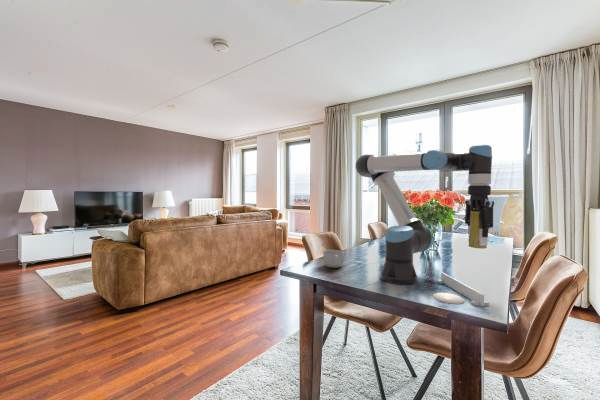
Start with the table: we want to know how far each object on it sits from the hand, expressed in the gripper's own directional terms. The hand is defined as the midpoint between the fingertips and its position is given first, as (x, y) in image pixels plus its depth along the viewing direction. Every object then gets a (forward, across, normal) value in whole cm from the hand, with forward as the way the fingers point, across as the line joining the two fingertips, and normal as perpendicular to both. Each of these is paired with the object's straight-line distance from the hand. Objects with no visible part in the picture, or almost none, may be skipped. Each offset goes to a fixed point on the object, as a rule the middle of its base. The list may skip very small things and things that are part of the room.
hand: (477, 243), depth 110 cm
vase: (+2, 0, 0) cm, 2 cm away
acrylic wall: (+19, -2, +8) cm, 20 cm away
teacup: (+19, +34, +52) cm, 65 cm away
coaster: (+19, -8, +16) cm, 26 cm away
